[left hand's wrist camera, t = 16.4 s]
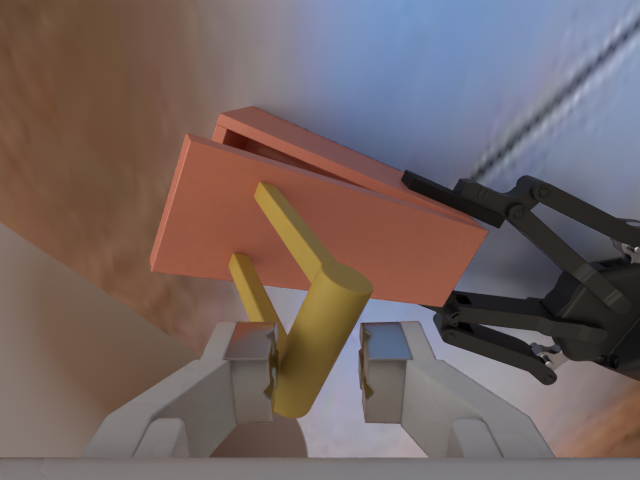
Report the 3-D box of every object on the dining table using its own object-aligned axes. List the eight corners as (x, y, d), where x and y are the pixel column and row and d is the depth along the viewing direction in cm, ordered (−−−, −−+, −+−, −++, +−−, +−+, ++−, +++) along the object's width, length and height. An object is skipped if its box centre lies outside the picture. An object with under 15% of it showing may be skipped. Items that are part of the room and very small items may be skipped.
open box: (229, 170, 32) (191, 202, 23) (251, 105, 30) (219, 112, 21) (404, 242, 34) (435, 298, 25) (435, 186, 32) (479, 224, 23)
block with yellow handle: (149, 258, 16) (169, 446, 9) (186, 132, 14) (244, 251, 7) (432, 298, 25) (546, 407, 18) (477, 223, 23) (621, 314, 16)
